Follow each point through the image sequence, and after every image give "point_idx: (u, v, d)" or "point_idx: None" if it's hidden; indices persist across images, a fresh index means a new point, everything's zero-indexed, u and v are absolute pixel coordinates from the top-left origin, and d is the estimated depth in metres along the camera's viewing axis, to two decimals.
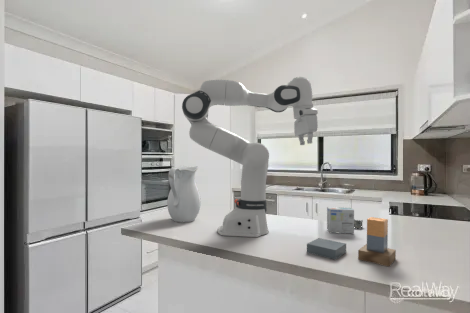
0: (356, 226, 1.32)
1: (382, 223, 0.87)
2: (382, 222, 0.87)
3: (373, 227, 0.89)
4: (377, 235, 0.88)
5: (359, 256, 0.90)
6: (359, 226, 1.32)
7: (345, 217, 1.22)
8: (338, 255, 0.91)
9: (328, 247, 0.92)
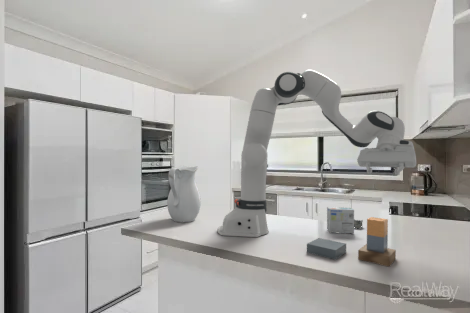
0: (356, 226, 1.32)
1: (382, 223, 0.87)
2: (382, 222, 0.87)
3: (373, 227, 0.89)
4: (377, 235, 0.88)
5: (359, 256, 0.90)
6: (359, 226, 1.32)
7: (345, 217, 1.22)
8: (338, 255, 0.91)
9: (328, 247, 0.92)
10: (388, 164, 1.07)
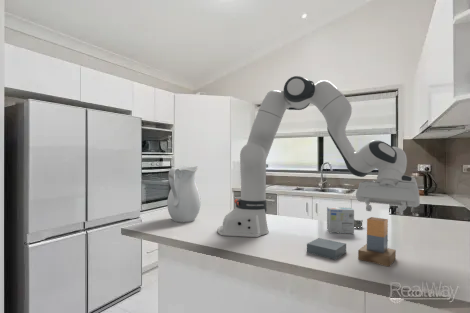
0: (356, 226, 1.32)
1: (382, 223, 0.87)
2: (382, 222, 0.87)
3: (373, 227, 0.89)
4: (377, 235, 0.88)
5: (359, 256, 0.90)
6: (359, 226, 1.32)
7: (345, 217, 1.22)
8: (338, 255, 0.91)
9: (328, 247, 0.92)
10: (389, 201, 0.99)
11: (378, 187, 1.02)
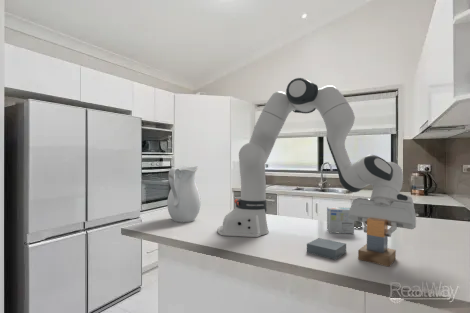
0: (356, 226, 1.32)
1: (382, 223, 0.87)
2: (382, 222, 0.87)
3: (373, 227, 0.89)
4: (377, 235, 0.88)
5: (359, 256, 0.90)
6: (359, 226, 1.32)
7: (345, 217, 1.22)
8: (338, 255, 0.91)
9: (328, 247, 0.92)
10: None
11: (372, 206, 0.96)
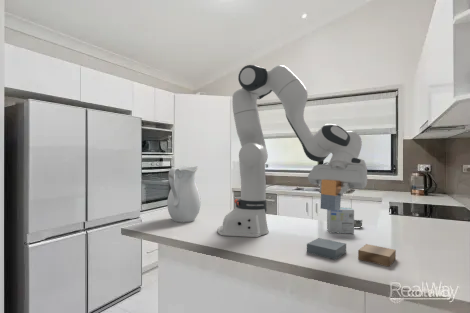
0: (356, 226, 1.32)
1: (334, 182, 0.93)
2: (334, 181, 0.93)
3: (326, 187, 0.95)
4: (330, 194, 0.94)
5: (359, 256, 0.90)
6: (359, 226, 1.32)
7: (345, 217, 1.22)
8: (338, 255, 0.91)
9: (328, 247, 0.92)
10: None
11: (329, 170, 1.02)
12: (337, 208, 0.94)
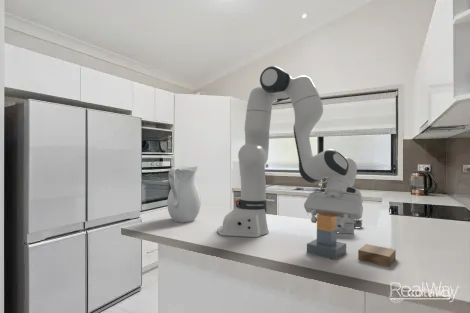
0: (356, 226, 1.32)
1: (329, 218, 0.93)
2: (329, 217, 0.93)
3: (322, 222, 0.95)
4: (325, 229, 0.94)
5: (359, 256, 0.90)
6: (359, 226, 1.32)
7: None
8: (338, 255, 0.91)
9: (328, 247, 0.92)
10: (334, 213, 0.98)
11: (325, 198, 1.02)
12: (333, 243, 0.95)
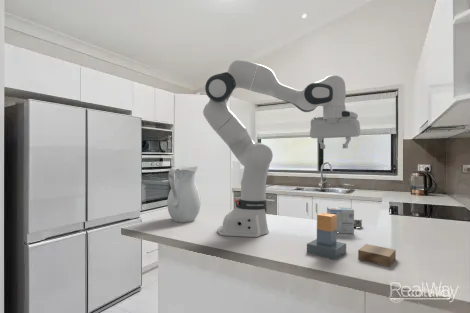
0: (357, 226, 1.32)
1: (329, 218, 0.93)
2: (329, 217, 0.93)
3: (322, 222, 0.95)
4: (325, 229, 0.94)
5: (359, 256, 0.90)
6: (359, 226, 1.32)
7: (345, 217, 1.22)
8: (338, 255, 0.91)
9: (328, 247, 0.92)
10: None
11: (325, 125, 1.16)
12: (333, 243, 0.95)
